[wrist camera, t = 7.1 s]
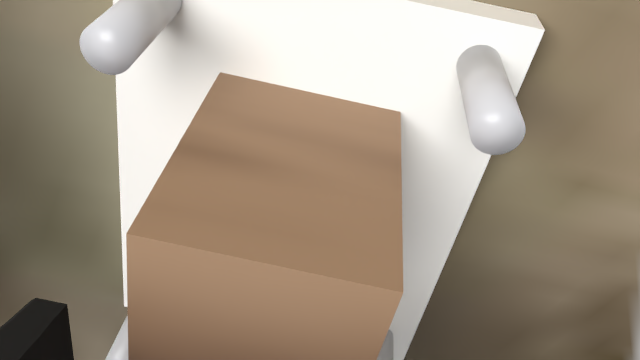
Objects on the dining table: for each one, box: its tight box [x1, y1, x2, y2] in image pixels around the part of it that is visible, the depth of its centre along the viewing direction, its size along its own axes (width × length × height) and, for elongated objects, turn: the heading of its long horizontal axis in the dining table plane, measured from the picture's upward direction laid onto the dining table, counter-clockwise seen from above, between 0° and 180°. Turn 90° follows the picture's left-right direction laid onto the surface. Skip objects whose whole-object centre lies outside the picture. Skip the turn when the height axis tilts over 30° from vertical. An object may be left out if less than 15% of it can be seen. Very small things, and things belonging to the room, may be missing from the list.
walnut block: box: [126, 72, 403, 360], centre depth 14 cm, size 7×4×6 cm, turn 169°
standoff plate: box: [80, 0, 545, 360], centre depth 15 cm, size 12×10×4 cm
